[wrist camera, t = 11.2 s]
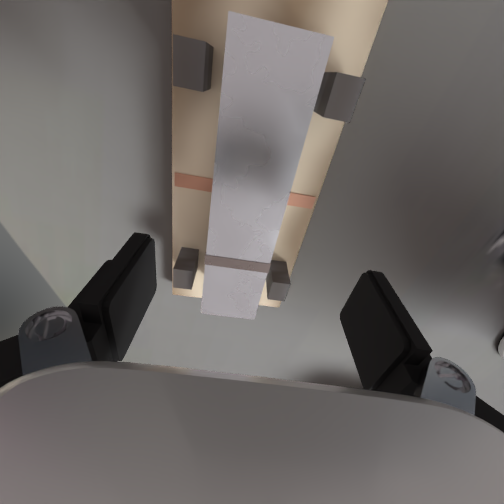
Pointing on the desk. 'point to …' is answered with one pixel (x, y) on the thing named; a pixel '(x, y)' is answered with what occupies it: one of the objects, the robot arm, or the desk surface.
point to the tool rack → (207, 114)
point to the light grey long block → (257, 153)
